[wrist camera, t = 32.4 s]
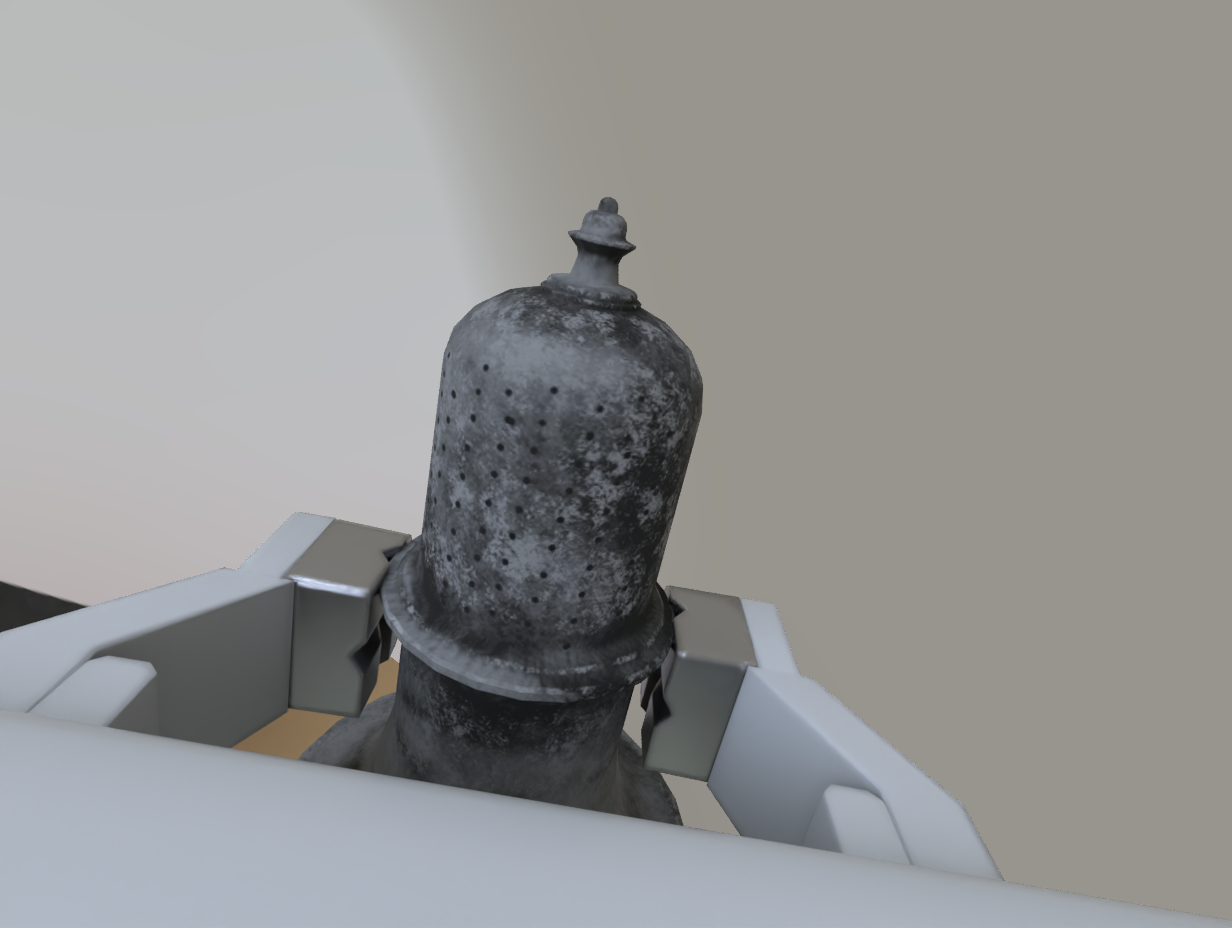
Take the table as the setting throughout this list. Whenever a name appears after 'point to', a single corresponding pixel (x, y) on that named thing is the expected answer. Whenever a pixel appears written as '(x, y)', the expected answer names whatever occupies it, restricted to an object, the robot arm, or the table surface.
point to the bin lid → (309, 722)
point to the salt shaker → (539, 548)
